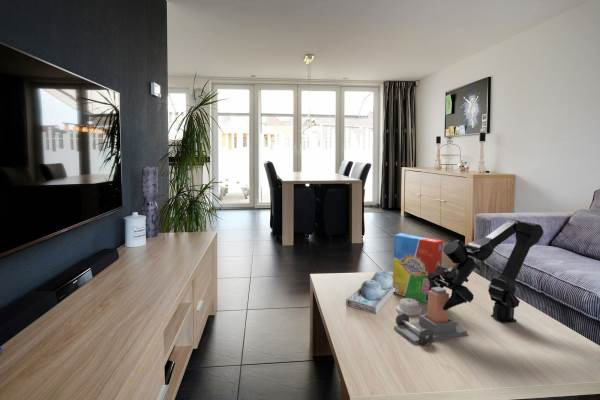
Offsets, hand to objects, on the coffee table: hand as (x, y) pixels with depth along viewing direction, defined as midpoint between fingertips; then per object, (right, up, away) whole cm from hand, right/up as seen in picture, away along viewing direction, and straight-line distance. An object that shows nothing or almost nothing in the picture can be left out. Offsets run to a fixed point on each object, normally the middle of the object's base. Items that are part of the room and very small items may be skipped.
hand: (434, 304), depth 138 cm
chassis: (-2, -10, +1) cm, 10 cm away
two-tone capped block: (+1, -8, +1) cm, 9 cm away
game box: (+3, -6, +34) cm, 35 cm away
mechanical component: (-4, -8, +19) cm, 21 cm away
